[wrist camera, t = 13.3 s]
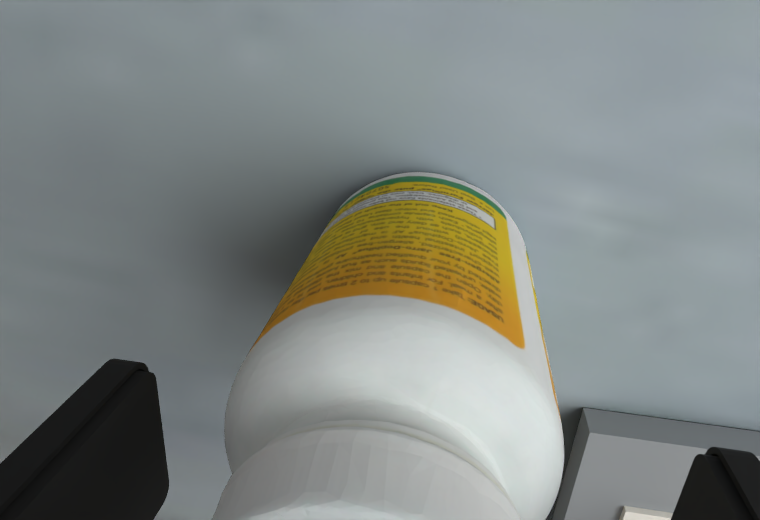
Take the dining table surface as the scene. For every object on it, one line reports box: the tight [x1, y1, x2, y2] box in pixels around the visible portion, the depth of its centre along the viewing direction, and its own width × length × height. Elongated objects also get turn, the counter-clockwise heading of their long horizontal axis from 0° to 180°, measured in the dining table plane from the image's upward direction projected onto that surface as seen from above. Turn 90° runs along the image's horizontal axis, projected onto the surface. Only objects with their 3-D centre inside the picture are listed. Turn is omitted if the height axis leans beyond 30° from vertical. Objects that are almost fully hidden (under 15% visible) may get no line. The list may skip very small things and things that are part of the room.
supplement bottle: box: [212, 172, 564, 520], centre depth 11 cm, size 5×5×10 cm
